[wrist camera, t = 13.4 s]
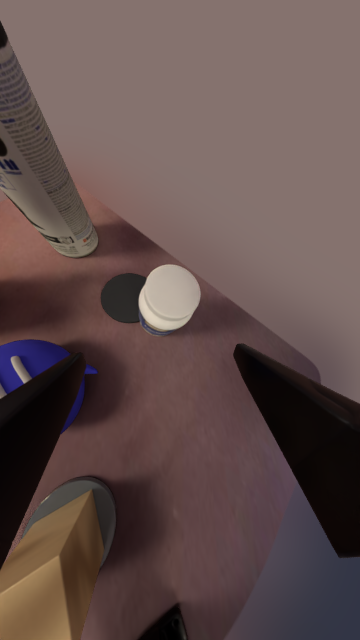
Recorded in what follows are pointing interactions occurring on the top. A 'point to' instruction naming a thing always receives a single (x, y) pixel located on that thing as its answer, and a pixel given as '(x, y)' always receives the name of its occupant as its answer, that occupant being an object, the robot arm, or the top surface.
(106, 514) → the coaster
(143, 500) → the top surface
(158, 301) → the pill bottle
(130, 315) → the coaster
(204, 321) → the top surface
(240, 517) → the top surface
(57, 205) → the spray can
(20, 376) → the decorative object
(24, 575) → the block
